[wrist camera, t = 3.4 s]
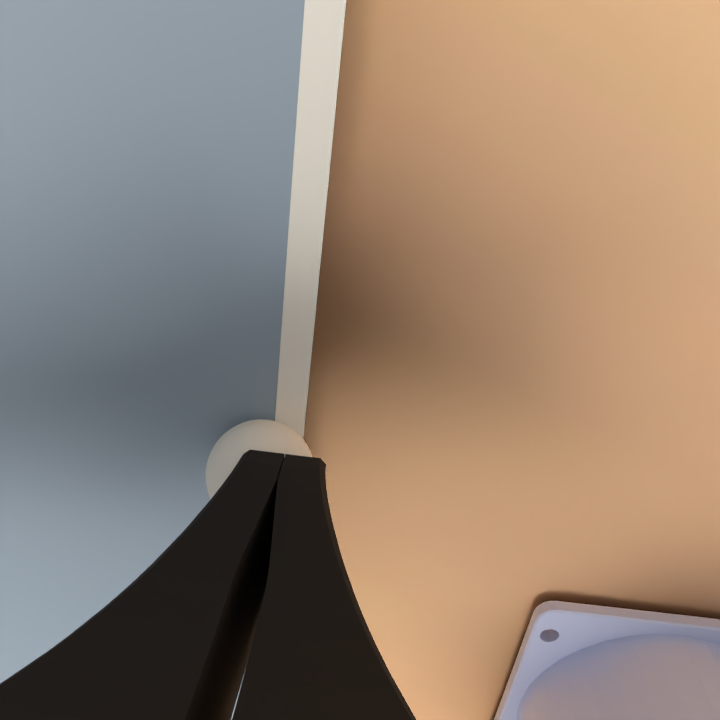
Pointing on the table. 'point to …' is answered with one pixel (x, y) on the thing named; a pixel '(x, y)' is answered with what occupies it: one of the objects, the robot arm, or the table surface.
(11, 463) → the lid
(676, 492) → the table surface
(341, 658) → the robot arm
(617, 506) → the table surface
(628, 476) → the table surface
